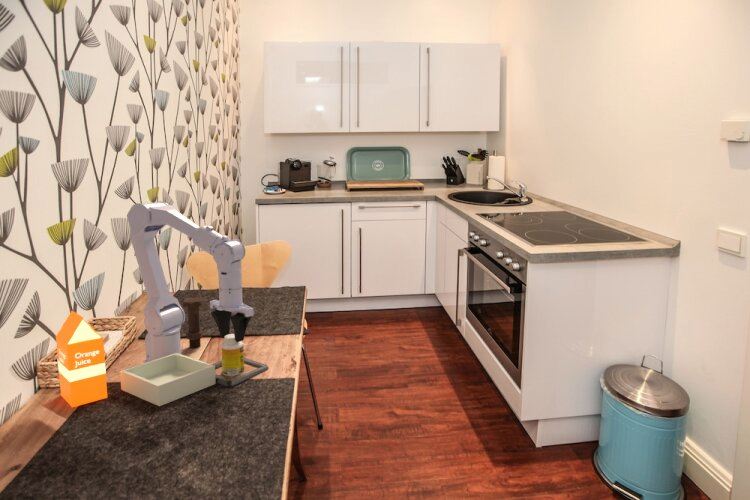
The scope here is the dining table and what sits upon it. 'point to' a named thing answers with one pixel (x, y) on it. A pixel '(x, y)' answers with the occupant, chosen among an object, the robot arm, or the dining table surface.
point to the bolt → (193, 321)
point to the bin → (167, 378)
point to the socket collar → (240, 378)
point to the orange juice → (81, 362)
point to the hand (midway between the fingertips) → (232, 338)
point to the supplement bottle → (232, 356)
